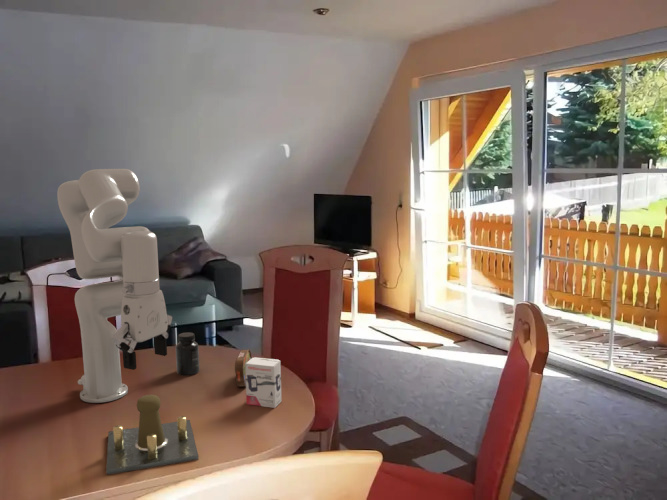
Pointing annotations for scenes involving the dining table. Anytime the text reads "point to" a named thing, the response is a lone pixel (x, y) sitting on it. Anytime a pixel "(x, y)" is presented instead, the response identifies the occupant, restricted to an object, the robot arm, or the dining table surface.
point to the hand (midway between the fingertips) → (146, 361)
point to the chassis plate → (141, 456)
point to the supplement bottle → (187, 355)
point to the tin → (242, 367)
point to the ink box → (263, 382)
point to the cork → (149, 420)
